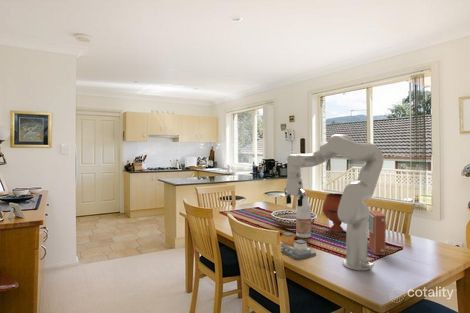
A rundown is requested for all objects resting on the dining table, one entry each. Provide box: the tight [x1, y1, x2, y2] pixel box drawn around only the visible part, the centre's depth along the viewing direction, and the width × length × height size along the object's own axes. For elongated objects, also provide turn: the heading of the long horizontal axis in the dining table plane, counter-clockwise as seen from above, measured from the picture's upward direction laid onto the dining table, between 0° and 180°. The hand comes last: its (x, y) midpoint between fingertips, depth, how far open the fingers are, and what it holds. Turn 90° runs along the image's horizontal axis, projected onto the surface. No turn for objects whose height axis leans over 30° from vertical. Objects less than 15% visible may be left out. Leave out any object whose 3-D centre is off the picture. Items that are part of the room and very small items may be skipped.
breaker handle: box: [294, 238, 308, 251], centre depth 162 cm, size 5×5×5 cm
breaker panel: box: [280, 241, 317, 260], centre depth 168 cm, size 22×13×4 cm, turn 28°
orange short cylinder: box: [281, 232, 295, 247], centre depth 171 cm, size 5×5×7 cm
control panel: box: [368, 209, 387, 256], centre depth 167 cm, size 21×7×15 cm
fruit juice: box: [295, 192, 312, 239], centre depth 195 cm, size 9×9×28 cm
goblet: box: [322, 192, 344, 233], centre depth 208 cm, size 19×19×25 cm
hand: (294, 204), depth 175 cm, fingers open, 9 cm apart
